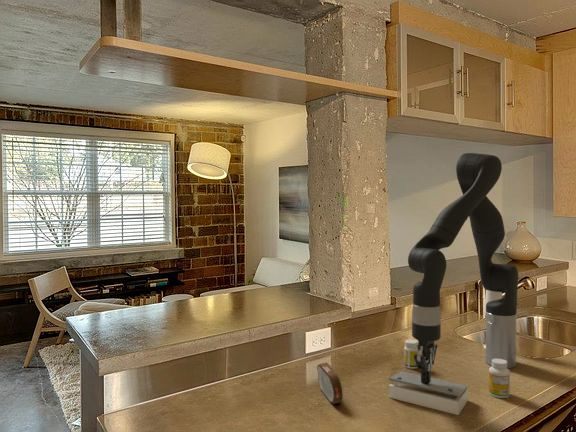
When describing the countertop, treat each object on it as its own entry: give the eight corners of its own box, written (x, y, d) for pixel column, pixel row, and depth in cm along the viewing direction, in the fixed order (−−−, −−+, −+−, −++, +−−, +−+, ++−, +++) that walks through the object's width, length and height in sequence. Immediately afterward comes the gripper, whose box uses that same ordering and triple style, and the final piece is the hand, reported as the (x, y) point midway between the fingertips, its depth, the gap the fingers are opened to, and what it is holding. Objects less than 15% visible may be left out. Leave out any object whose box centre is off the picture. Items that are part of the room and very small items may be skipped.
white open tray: (401, 384, 139) (401, 373, 139) (467, 400, 128) (467, 387, 128) (388, 397, 131) (388, 385, 130) (458, 415, 120) (458, 401, 120)
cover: (401, 373, 138) (401, 370, 138) (467, 387, 127) (467, 384, 127) (388, 380, 130) (388, 376, 130) (458, 396, 120) (458, 392, 120)
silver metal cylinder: (507, 348, 168) (508, 283, 166) (494, 351, 165) (495, 285, 164) (492, 343, 174) (492, 280, 172) (479, 346, 171) (479, 282, 170)
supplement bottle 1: (421, 365, 153) (421, 340, 153) (415, 370, 150) (415, 344, 149) (407, 362, 156) (407, 338, 156) (401, 366, 153) (401, 341, 152)
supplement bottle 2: (491, 388, 135) (492, 356, 135) (511, 393, 132) (512, 360, 131) (486, 395, 131) (486, 361, 130) (506, 400, 128) (507, 366, 127)
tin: (343, 408, 125) (343, 377, 124) (332, 409, 124) (332, 378, 124) (325, 385, 140) (325, 358, 139) (315, 386, 139) (315, 359, 138)
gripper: (432, 328, 119) (432, 394, 120) (447, 317, 130) (446, 377, 131) (404, 324, 123) (404, 388, 124) (420, 313, 134) (420, 372, 135)
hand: (425, 382), depth 127 cm, fingers closed
